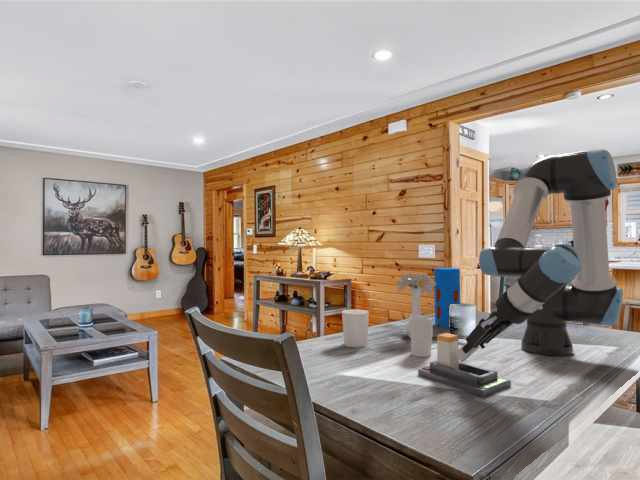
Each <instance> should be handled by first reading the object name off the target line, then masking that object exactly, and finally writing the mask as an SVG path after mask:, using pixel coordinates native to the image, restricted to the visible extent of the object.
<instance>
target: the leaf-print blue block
mask: <svg viewBox="0 0 640 480" xmlns="http://www.w3.org/2000/svg"><path fill="white" fill-rule="evenodd" d="M433 271H434V272H433V282H435V283H436V285H435V286H434V291H433V292H434V325H435V326H436V327H438V328H444V329H445V328H446V329H447V328H448V329H450V328H449V306H450V304H460V305H461V271H460V268H459V267H434V269H433Z"/></svg>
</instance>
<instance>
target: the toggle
mask: <svg viewBox="0 0 640 480" xmlns="http://www.w3.org/2000/svg"><path fill="white" fill-rule="evenodd" d="M436 341H437V342H436V343H437V344H436V346H437V347H436V348H437V349H436V352H437V353H436V354H437V356H436V357H437V360H436V361H437V362H438V364H441V365H445V366H448V367H452V368H455V369H459V362H460V360H459V358H458V357H457V356H456V354H455V353H456V352H457V351H458V350H459V349H460V348H459V347H460V346H459V335H458V334H453V333H450V332H449V333H448V332H444V333H440V334H436Z"/></svg>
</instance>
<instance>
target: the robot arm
mask: <svg viewBox="0 0 640 480" xmlns="http://www.w3.org/2000/svg"><path fill="white" fill-rule="evenodd" d="M615 166H616V165H615V163H614V159H613V156H612V154H611V153H610V151H608V150H606V149H602V148H601V149H589V150H588V149H587V150H581V151H574V152H568V153H561V154H556V155H555V154H553V155H548V156H545V157H541V158H539V159H538V160H536V161H535V162H533V163H532V164H531V165H529V166H528V167H526V168H525V170H523V171H522V172H521V174H520V175H519V176H518V177H517V179H516V181H515V184H514V185H513V190H512V191H513V194H514V195H513V198H512V201H511V203H510V205H509V208H508V211H507V213H506V216H505V219H504V221H503V223H502V226H501V228H500V231H499V233H498V237H497V239H496V240H495V243H494V245H493V246H487V247H483V248H482V249H480V250H481V251H480V253H479V255H478V262H479V263H478V264H479V268H480V271H481V273H483V274H484V275H486V276H494V277H511V278H513V277H514V278H517V277H518V278H517V279H516V280H515V281H514V283H512V284H511V285H510V286H509V287H508V288H507V289H506V291H504V292H503V293H502V294H501V295H500V296H499V297H498V298H497V299H496V300H495V306H496V310H494V311H492V312H491V313H490V314H489V316H488V318H486V319H485V318H481V319H480V320H479V321H478V324H477V325H476V327H474V329H473V330H472V331H471V332H470V333H469V334H468V336H466V337H465V343H464V344H463V345H462V346H461V347H460V348H459V350H458V351H457V352H456V353H455V354H456V356H457V357H458V358H459V362H463V363H464V362H465V361H466V360H467V359H468V358H469V357H471V356H472V355H473V354H474V353H476V351H478V349H479V348H481V350H483V349H485V348H486V346H485V345H487V344H489V343H490V342H491V341H493V340H494V339H495V338H496V337H497V336H499V335H500V334H501V333H503V332H504V331H505V330H506V329H508V328H509V327H510V326H512V325H514V324H515V325H520V324H523V323H524V322H526V327H525V330H524V333H523V336H522V337H521V341H520V343H521V344H520V345H521V349H522V350H524V351H526V352H528V353H533V354H537V355H543V356H550V357H551V356H555V357H562V356H563V357H564V356H571V355H573V354H574V347H573V343H572V340H571V338H570V335H569V332H568V330H567V322H572V323H581V324H587V325H588V324H589V325H598V326H612V327H613V326H615V325H617V324H618V322H619V321H620V317H621V316H620V315H621V312H622V305H623V295H624V290H623V288H620V287H617V282H616V281H615V279H613V278H611V276H610V266H609V265H610V262H609V261H610V260H609V248H608V232H607V230H608V229H607V214H606V200H608V198H610V197H611V196H612V192H611V191H612V190H615V189H616V188H617V186H618V180H617V171H616V167H615ZM553 194H557V195H558V194H563V199H564V201H566V202H567V203H568V204H569V205H570V216H571V227H572V239H573V245H570V244H566V243H559V244H555V245H553V246H551V247H548V246H547V247H543V246H542V247H537V246H536V247H535V246H534V247H531V246H530V247H527V245H528V242H529V240H530V237H531V233H532V230H533V228H534V225H535V221H536V219H537V216H538V213H539V210H540V207H541V204H542V202H544V201H545V200H546V199H547V197H548V195H553ZM569 283H570V285H569Z"/></svg>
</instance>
